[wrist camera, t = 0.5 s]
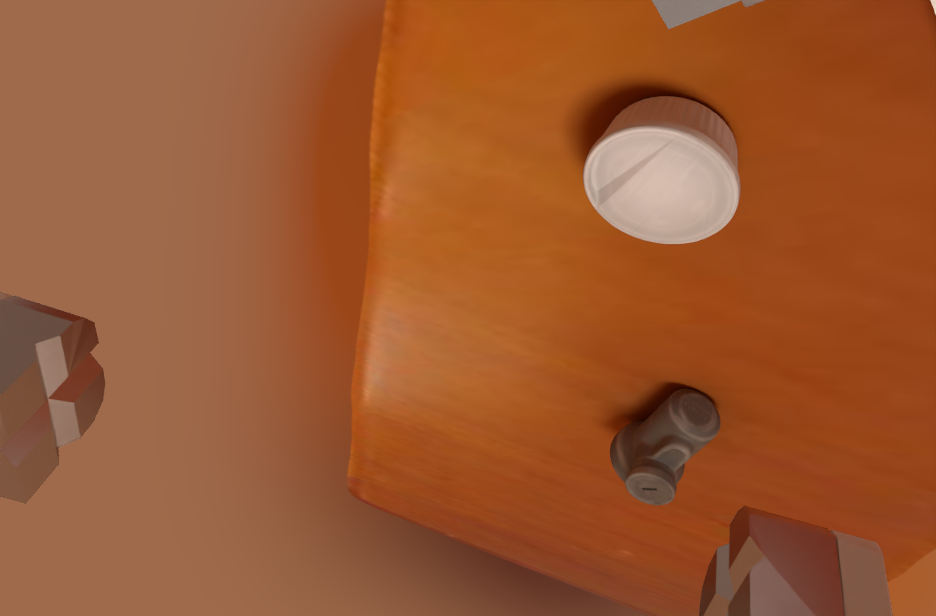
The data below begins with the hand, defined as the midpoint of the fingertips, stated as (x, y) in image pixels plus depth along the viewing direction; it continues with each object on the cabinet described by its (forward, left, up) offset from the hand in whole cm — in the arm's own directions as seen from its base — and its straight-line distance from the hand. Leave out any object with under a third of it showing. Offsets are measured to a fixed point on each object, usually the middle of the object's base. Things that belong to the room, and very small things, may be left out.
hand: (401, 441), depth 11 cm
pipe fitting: (+37, +62, -47) cm, 86 cm away
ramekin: (+21, +29, -47) cm, 59 cm away
